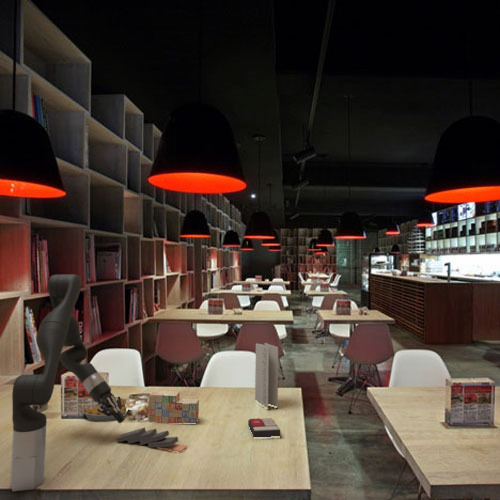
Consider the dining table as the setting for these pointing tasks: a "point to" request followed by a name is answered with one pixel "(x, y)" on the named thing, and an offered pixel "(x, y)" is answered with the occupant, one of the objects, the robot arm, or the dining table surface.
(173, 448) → the end domino
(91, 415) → the berry pie
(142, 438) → the domino
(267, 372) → the brochure
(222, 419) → the dining table surface
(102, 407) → the robot arm
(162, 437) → the domino
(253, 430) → the book
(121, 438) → the domino
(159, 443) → the domino
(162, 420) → the stack of blocks
